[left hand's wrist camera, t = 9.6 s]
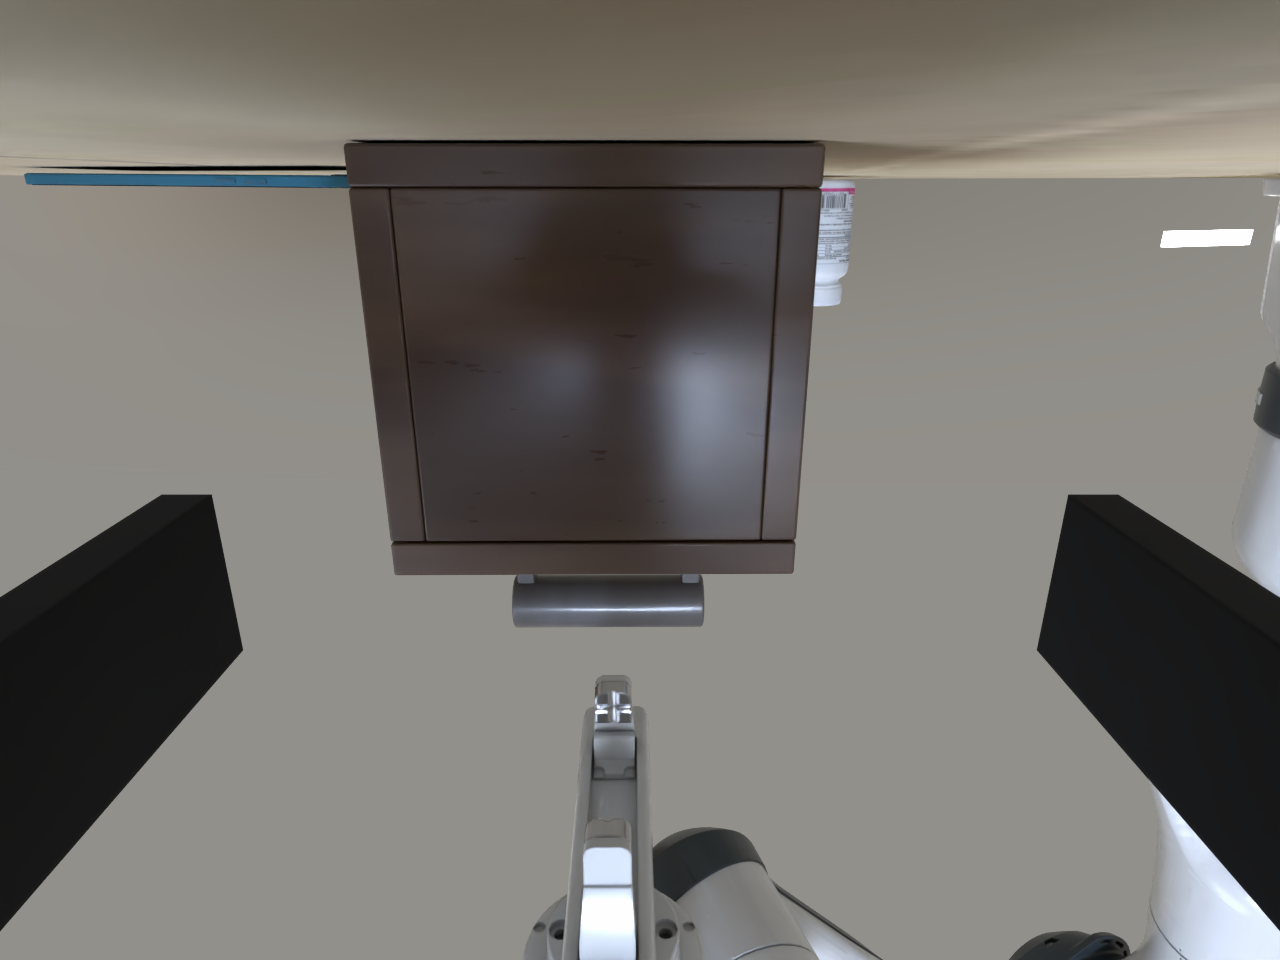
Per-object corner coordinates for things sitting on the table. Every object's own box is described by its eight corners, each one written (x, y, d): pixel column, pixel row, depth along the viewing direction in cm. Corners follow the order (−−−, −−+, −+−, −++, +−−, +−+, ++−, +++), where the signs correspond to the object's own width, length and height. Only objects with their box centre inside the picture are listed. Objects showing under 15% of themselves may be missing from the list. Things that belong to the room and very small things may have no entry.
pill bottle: (804, 180, 58) (796, 297, 61) (773, 179, 54) (767, 303, 57) (867, 180, 55) (855, 302, 58) (839, 179, 52) (828, 309, 54)
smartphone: (12, 184, 34) (333, 187, 32) (8, 170, 34) (331, 172, 32) (141, 185, 41) (411, 188, 39) (139, 174, 41) (410, 176, 39)
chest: (743, 163, 28) (732, 405, 31) (466, 163, 28) (483, 405, 31) (826, 143, 16) (796, 540, 19) (341, 142, 16) (390, 542, 19)
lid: (730, 401, 32) (723, 582, 35) (487, 402, 32) (499, 583, 35) (795, 542, 19) (775, 809, 22) (390, 544, 19) (422, 811, 22)
